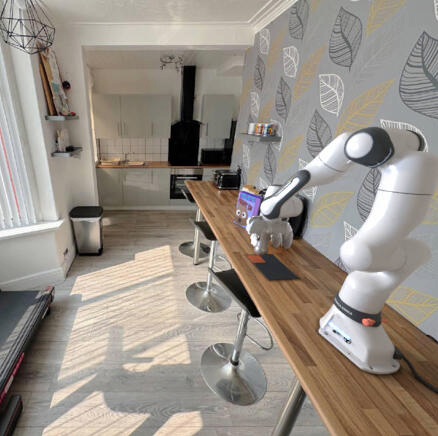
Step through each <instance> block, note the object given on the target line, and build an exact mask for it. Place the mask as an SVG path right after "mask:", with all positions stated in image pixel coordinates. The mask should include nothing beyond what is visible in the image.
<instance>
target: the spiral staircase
mask: <svg viewBox="0 0 438 436" xmlns="http://www.w3.org/2000/svg"><path fill="white" fill-rule="evenodd" d="M252 218H253V217H252ZM249 219H250V217H249V218H248V219H247V221H246V222H247V224H248V222H249ZM293 231H294V230H293V228H292V226H291V223H290V222H288V225H287V229H286V231H285V232H284V233H276V234H275V236H274V237H273V238H272V240H269V243H268V246H269V245H270V242H271V247H274V249H277V248H279V247H280V246H281V247H283V249H284V250H287V249H290V248H291V246H292V245H293V239H294V232H293ZM247 234H248V235H250V237H249V238H250V240H251V242H250V244H251V245H252V247H255V245H256V243H257V241H256V240H255V235H254V234H250V233H248V232H247Z"/></svg>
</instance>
